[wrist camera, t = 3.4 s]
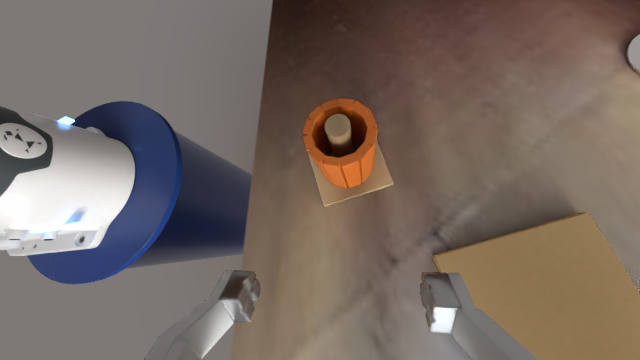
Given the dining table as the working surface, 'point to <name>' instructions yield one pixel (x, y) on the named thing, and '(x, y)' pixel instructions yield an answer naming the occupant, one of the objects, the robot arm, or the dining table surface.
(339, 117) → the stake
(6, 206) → the robot arm
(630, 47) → the wineglass
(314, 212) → the dining table surface
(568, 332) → the cork mat
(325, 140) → the orange ring
